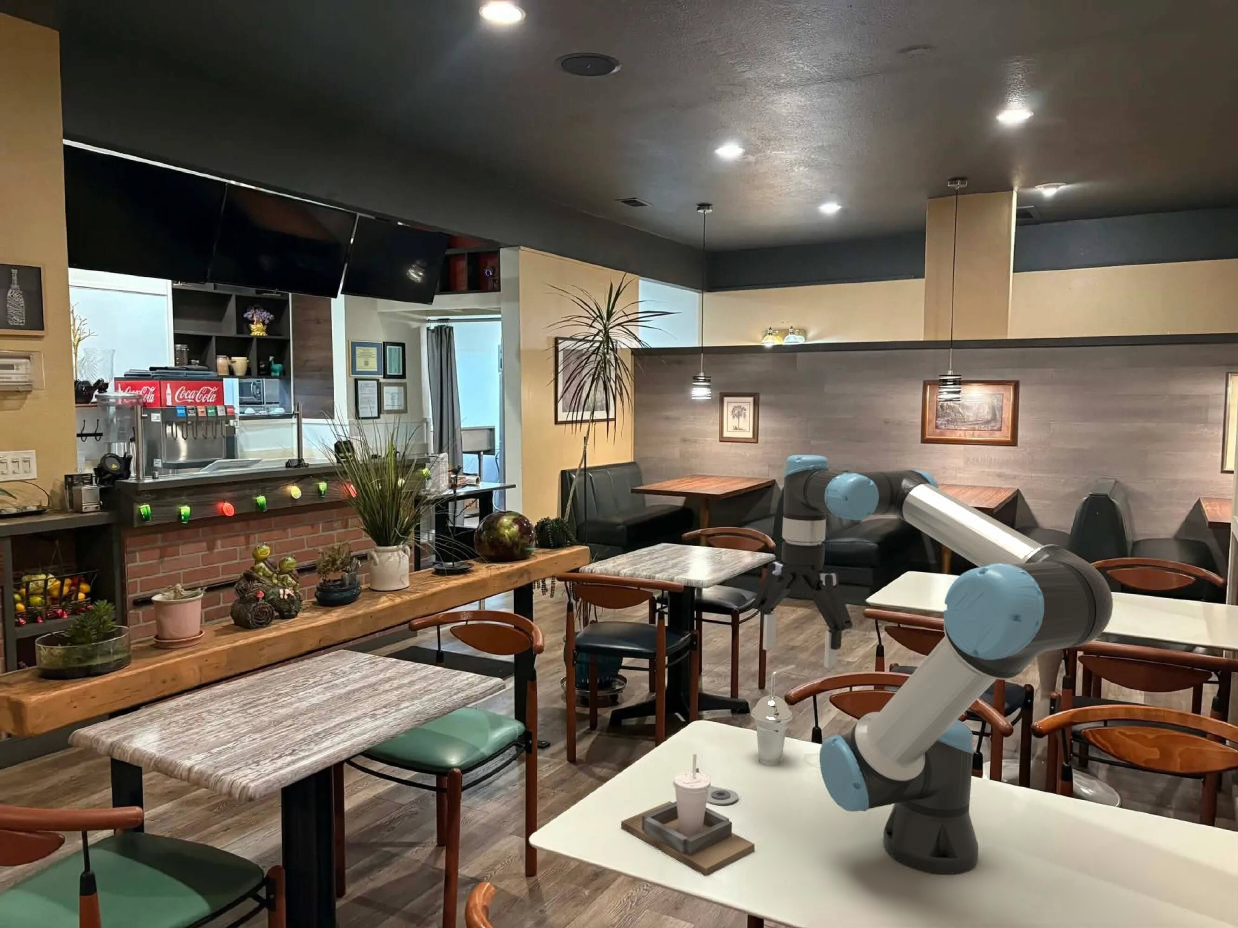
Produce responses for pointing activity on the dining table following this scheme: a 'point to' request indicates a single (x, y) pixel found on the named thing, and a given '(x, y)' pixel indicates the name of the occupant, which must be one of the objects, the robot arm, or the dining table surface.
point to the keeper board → (690, 838)
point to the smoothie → (691, 800)
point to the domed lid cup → (771, 724)
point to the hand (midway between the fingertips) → (798, 657)
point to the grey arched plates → (720, 795)
